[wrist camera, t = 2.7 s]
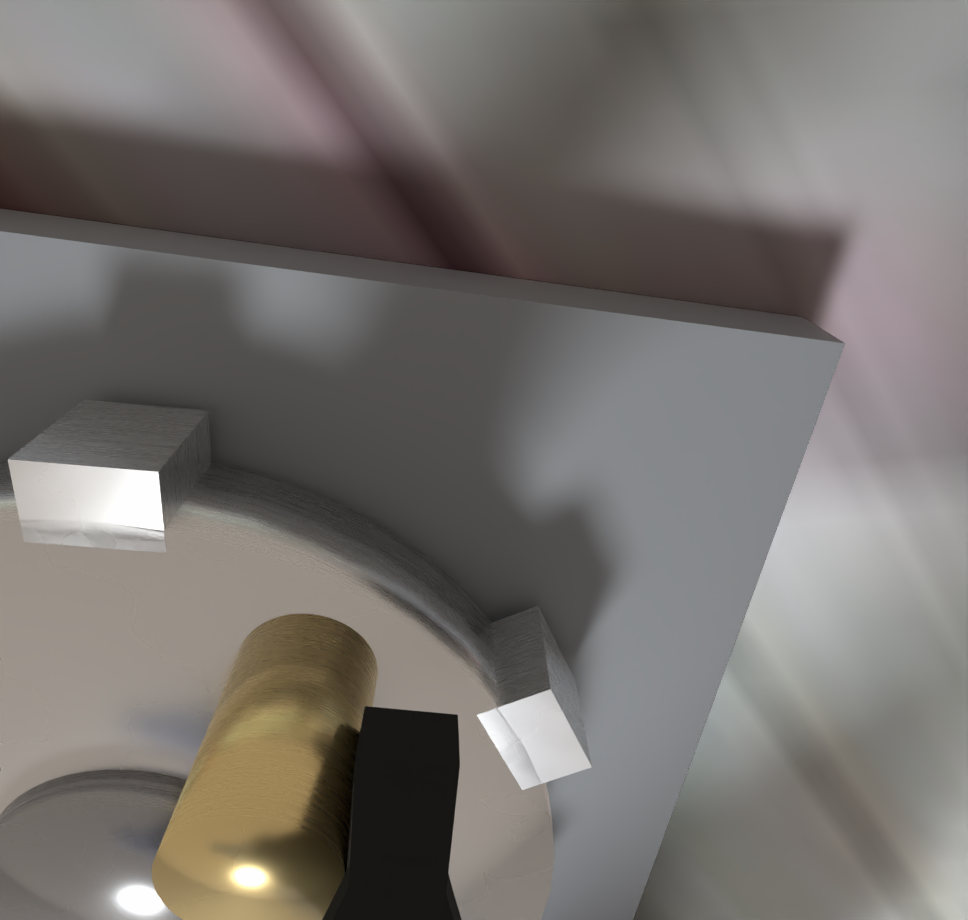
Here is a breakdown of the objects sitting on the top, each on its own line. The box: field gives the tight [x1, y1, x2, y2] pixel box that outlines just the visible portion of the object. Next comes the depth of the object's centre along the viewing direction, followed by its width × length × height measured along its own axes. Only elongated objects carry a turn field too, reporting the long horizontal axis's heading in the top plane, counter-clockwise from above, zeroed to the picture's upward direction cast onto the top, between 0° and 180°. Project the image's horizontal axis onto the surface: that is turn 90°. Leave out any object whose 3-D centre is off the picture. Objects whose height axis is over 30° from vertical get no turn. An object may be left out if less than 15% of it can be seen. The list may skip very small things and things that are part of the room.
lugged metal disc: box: [0, 400, 592, 920], centre depth 12 cm, size 14×16×5 cm
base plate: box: [0, 209, 845, 920], centre depth 15 cm, size 20×20×2 cm
